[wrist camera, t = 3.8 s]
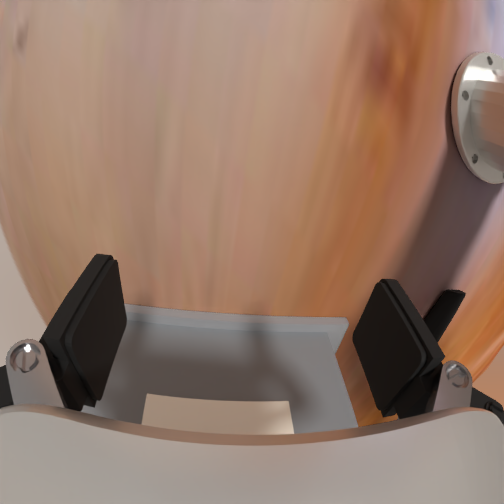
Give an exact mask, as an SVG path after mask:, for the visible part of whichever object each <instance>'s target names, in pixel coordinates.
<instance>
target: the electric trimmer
mask: <svg viewBox="0 0 504 504" xmlns="http://www.w3.org/2000/svg"><path fill="white" fill-rule="evenodd" d="M464 297H465V293H464V292H463V291H460V290H446V291H445V292H444V293H443V295H442V296H441V298H440V299H439V300H438V302H437V303H436V305H435V306H434V307H433V309H432V310H431V312H430V313H429V314H428V316H427V317H426V318H425V320H424V322H425V324H426V325H427V327H428V328H429V330H430V332H431V333H432V335H433V337H434V338H435V340H436V342H437V343H438V341H439V340H440V338H441V336H442V335H443V333H444V331H445V330H446V328H447V327H448V325H449V323H450V322H451V320H452V318H453V317H454V315H455V313H456V311H457V310H458V308H459V306H460V304H461V302H462V301H463V299H464Z"/></svg>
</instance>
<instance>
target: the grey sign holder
mask: <svg viewBox="0 0 504 504" xmlns="http://www.w3.org/2000/svg"><path fill="white" fill-rule="evenodd" d="M124 305H125V310H126V315H127V325H126V328H125V331H124V334H123V336H122V339H121V342H120V345H119V348H118V350H117V353H116V356H115V359H114V362H113V365H112V368H111V371H110V374H109V377H108V380H107V384H106V387H105V390H104V393H103V397H102V399H101V400H100V401H98V400H97V402H96V405H95V408H93V407H89V406H86V405H84V406H83V409H82V411H81V412H84V413H89V414H92V415H97V416H101V417H105V418H110V419H114V420H119V421H124V422H129V423H135V424H141V425H146V426H152V427H159V428H166V429H173V430H182V431H191V432H202V433H217V434H240V435H276V434H299V433H312V432H323V431H333V430H341V429H349V428H356V427H358V424H357V421H356V417H355V414H354V411H353V408H352V405H351V402H350V398H349V395H348V392H347V389H346V386H345V383H344V380H343V377H342V374H341V371H340V368H339V365H338V362H337V359H336V357H335V353H336V351H337V349H338V347H339V345H340V343H341V341H342V339H343V337H344V334H345V332H346V330H347V328H348V326H349V323H348V321H347V318H346V317H289V316H263V315H243V314H227V313H213V312H200V311H188V310H177V309H167V308H157V307H148V306H139V305H131V304H124Z"/></svg>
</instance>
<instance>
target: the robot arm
mask: <svg viewBox="0 0 504 504" xmlns="http://www.w3.org/2000/svg"><path fill="white" fill-rule="evenodd" d="M451 115H452V126H453V131H454V137H455V140H456V144H457V147H458V150H459V152H460V155H461V157H462V160H463V161H464V163H465V164H466V166H467V167H468V169H469V170H470V171H471V172H472V173H473V174H474V175H475V176H477V177H478V178H480V179H481V180H483V181H486V182H488V183H491V184H499V183H503V182H504V59H503V58H502V57H500V56H499V55H496V54H494V53H489V52H478V53H474V54H472V55H470V56H468V57H467V58H466V59H465V60H464V61H463V62H462V64H461V66H460V68H459V69H458V71H457V74H456V77H455V80H454V84H453V90H452V100H451ZM126 325H127V315H126V310H125V305H124V299H123V293H122V287H121V281H120V274H119V268H118V262H117V260H114V259H113V257H112V256H111V255H104V254H96V255H95V256H94V257H93V259H92V260H91V261H90V263H89V264H88V266H87V267H86V269H85V270H84V271H83V273H82V274H81V276H80V277H79V279H78V280H77V282H76V283H75V285H74V286H73V288H72V289H71V290H70V291H69V293H68V294H67V296H66V297H65V299H64V300H63V302H62V304H61V305H60V307H59V308H58V310H57V312H56V313H55V315H54V317H53V318H52V320H51V322H50V323H49V325H48V327H47V328H46V330H45V332H44V334H43V335H42V337H41V339H40V341H39V342H38V341H36V340H33V339H25V340H21V341H19V342H17V343H16V344H14V345H13V346H12V347H11V348H10V350H9V351H8V353H7V356H6V365H4V366H2V367H0V504H504V410H503V407H502V405H501V404H500V403H498V402H497V401H496V400H494V399H492V398H490V397H488V396H487V395H485V394H483V393H482V392H480V391H478V390H476V389H475V388H473V387H472V377H471V374H470V372H469V371H468V369H467V368H466V367H465V366H464V365H462V364H461V363H459V362H457V361H447V362H446V363H445V364H444V365H443V364H442V362H441V361H442V360H443V359H444V357H445V355H444V354H443V352H442V350H441V348H440V347H439V345H438V343H437V342H436V340H435V338H434V337H433V335H432V333H431V332H430V330H429V328H428V327H427V325H426V324H425V322H424V320H423V319H422V317H421V316H420V314H419V313H418V311H417V309H416V308H415V306H414V305H413V303H412V302H411V300H410V299H409V297H408V296H407V294H406V293H405V291H404V290H403V289H402V287H401V286H400V284H399V283H398V281H397V280H394V279H381V280H380V282H378V283H377V284H376V285H375V287H374V289H373V292H372V294H371V296H370V298H369V301H368V303H367V305H366V307H365V309H364V312H363V314H362V316H361V318H360V320H359V322H358V324H357V326H356V328H355V330H354V332H353V343H354V345H355V348H356V350H357V353H358V356H359V358H360V361H361V364H362V367H363V369H364V372H365V375H366V378H367V380H368V383H369V386H370V389H371V392H372V395H373V397H374V400H375V403H376V406H377V408H378V410H381V413H382V416H383V417H387V416H392V415H395V414H396V413H397V415H398V419H397V420H395V421H390V422H385V423H380V424H374V425H368V426H362V427H356V428H349V429H341V430H333V431H323V432H312V433H299V434H276V435H240V434H217V433H202V432H191V431H182V430H173V429H166V428H159V427H152V426H146V425H141V424H135V423H129V422H124V421H119V420H114V419H110V418H105V417H101V416H97V415H92V414H89V413H84V412H81V411H82V409H83V406H84V405H86V406H89V407H93V408H95V405H96V402H97V400H98V401H100V400H101V399H102V397H103V393H104V390H105V387H106V384H107V380H108V377H109V374H110V371H111V368H112V365H113V362H114V359H115V356H116V353H117V350H118V348H119V345H120V342H121V339H122V336H123V334H124V331H125V328H126Z"/></svg>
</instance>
